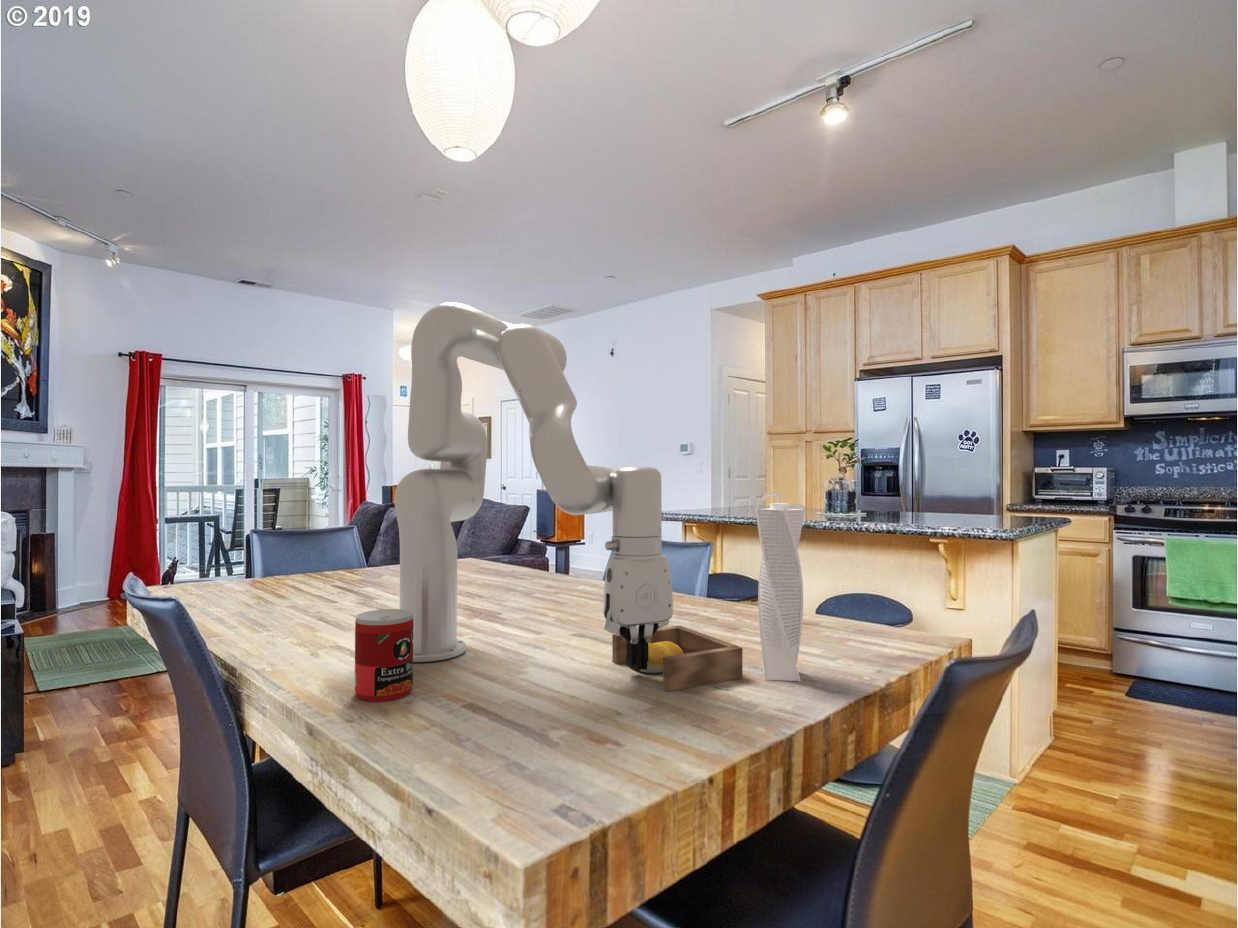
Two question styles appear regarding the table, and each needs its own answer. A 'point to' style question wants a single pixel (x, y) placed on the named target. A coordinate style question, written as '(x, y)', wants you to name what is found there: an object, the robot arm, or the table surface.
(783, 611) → the skyscraper
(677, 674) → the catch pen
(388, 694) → the canned food
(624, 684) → the table surface
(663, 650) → the bread roll
